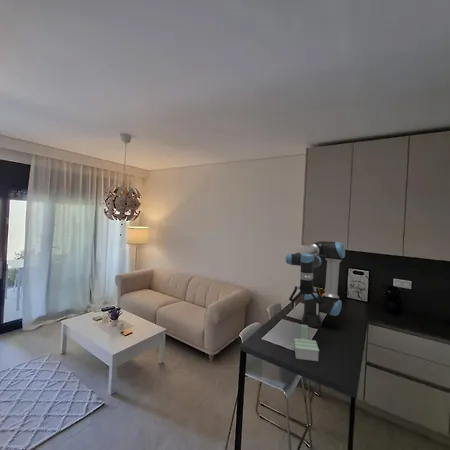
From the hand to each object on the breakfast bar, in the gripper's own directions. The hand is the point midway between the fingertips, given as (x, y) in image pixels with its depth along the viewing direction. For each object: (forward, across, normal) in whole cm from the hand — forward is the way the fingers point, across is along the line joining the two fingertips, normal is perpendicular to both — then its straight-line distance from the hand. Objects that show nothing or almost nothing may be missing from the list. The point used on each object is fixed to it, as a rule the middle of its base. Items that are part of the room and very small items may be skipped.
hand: (305, 313), depth 156 cm
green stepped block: (+16, -1, -7) cm, 17 cm away
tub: (+22, -1, -9) cm, 24 cm away
